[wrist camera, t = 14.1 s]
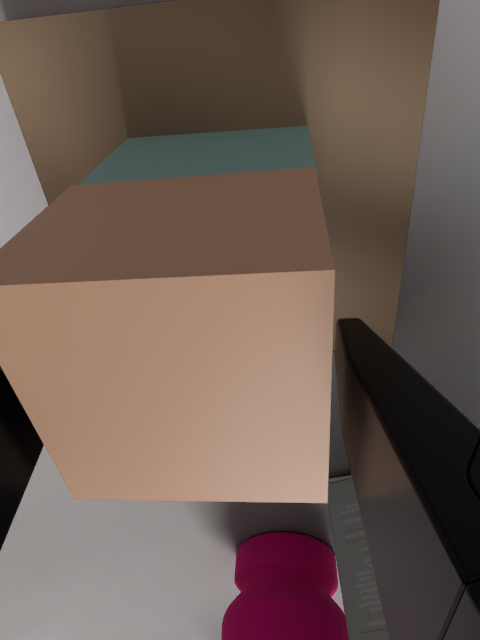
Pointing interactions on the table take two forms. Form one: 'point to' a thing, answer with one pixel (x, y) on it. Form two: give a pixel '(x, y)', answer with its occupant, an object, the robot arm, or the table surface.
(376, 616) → the skincare box
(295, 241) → the tan brick
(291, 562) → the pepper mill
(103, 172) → the teal brick
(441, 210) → the table surface
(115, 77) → the walnut board
